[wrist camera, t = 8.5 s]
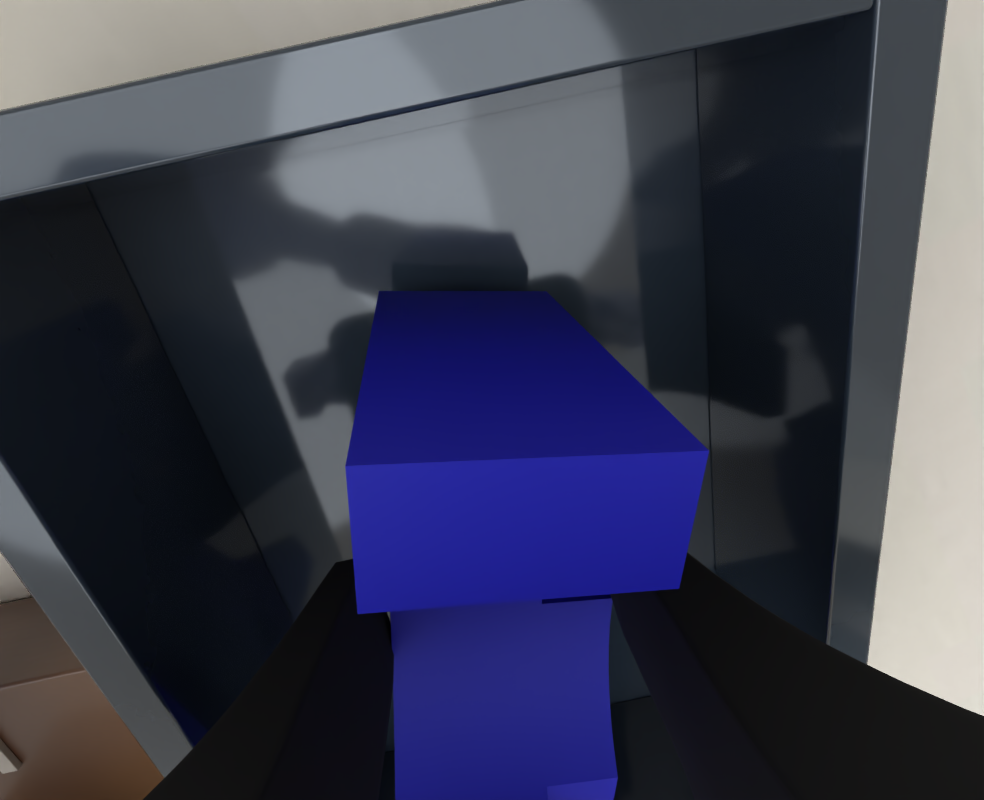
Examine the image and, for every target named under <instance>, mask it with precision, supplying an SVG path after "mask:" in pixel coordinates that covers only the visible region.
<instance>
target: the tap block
mask: <svg viewBox="0 0 984 800" xmlns="http://www.w3.org/2000/svg"><path fill="white" fill-rule="evenodd" d="M163 779H164V778H163V776H162V775H161V774H160V772H159V771H158V769H157V768H156V767H155V765H154V764H153V763H152V761H151V760H150V758H149V757H148V756H147V754H146V753H145V751H144V750H143V749H142V747H141V746H140V745H139V743H138V742H137V740H136V739H135V738H134V736H133V735H132V733H131V732H130V731H129V729H128V728H127V727H126V725H125V724H124V722H123V721H122V720H121V718H120V717H119V715H118V714H117V713H116V711H115V710H114V709H113V707H112V706H111V704H110V703H109V702H108V700H107V699H106V698H105V696H104V695H103V693H102V692H101V691H100V689H99V688H98V686H97V685H96V684H95V682H94V681H93V680H92V678H91V677H90V675H89V674H88V673H87V671H86V670H85V668H84V667H83V666H82V664H81V663H80V662H79V660H78V659H77V657H76V656H75V655H74V653H73V652H72V651H71V649H70V648H69V646H68V645H67V644H66V642H65V641H64V639H63V638H62V637H61V635H60V634H59V633H58V631H57V630H56V628H55V627H54V626H53V624H52V623H51V621H50V620H49V619H48V617H47V616H46V615H45V613H44V612H43V610H42V609H41V608H40V606H39V605H38V604H37V602H36V601H35V599H34V598H33V597H31V598H26V599H22V600H17V601H12V602H8V603H3V604H0V800H143V799H144V798H145V797H146V796H147V795H148V794H149V793H150V792H151V791H152V790H153V789H154V788H155V787H156V786H157V785H158V784H159V783H160V782H161V781H162V780H163Z"/></svg>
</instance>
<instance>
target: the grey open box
mask: <svg viewBox="0 0 984 800" xmlns="http://www.w3.org/2000/svg"><path fill="white" fill-rule="evenodd" d="M947 4H948V0H496V1H491V2H487V3H482V4H478V5H473V6H469V7H464V8H460V9H455V10H451V11H446V12H442V13H437V14H433V15H428V16H424V17H419V18H414V19H410V20H405V21H401V22H396V23H392V24H387V25H383V26H378V27H374V28H369V29H365V30H360V31H356V32H351V33H347V34H342V35H338V36H333V37H328V38H324V39H319V40H315V41H310V42H306V43H301V44H297V45H292V46H288V47H283V48H279V49H274V50H270V51H265V52H261V53H256V54H252V55H247V56H242V57H238V58H233V59H229V60H224V61H220V62H215V63H211V64H206V65H202V66H197V67H193V68H188V69H184V70H179V71H175V72H170V73H166V74H161V75H157V76H152V77H147V78H143V79H138V80H134V81H129V82H125V83H120V84H116V85H111V86H107V87H102V88H98V89H93V90H89V91H84V92H80V93H75V94H71V95H66V96H61V97H57V98H52V99H48V100H43V101H39V102H34V103H30V104H25V105H21V106H16V107H12V108H7V109H3V110H0V552H1V554H2V555H3V556H4V558H5V559H6V561H7V562H8V563H9V565H10V566H11V568H12V569H13V570H14V572H15V573H16V574H17V576H18V577H19V579H20V580H21V581H22V583H23V584H24V586H25V587H26V588H27V590H28V591H29V592H30V594H31V595H32V597H33V598H34V599H35V601H36V602H37V604H38V605H39V606H40V608H41V609H42V610H43V612H44V613H45V615H46V616H47V617H48V619H49V620H50V621H51V623H52V624H53V626H54V627H55V628H56V630H57V631H58V633H59V634H60V635H61V637H62V638H63V639H64V641H65V642H66V644H67V645H68V646H69V648H70V649H71V651H72V652H73V653H74V655H75V656H76V657H77V659H78V660H79V662H80V663H81V664H82V666H83V667H84V668H85V670H86V671H87V673H88V674H89V675H90V677H91V678H92V680H93V681H94V682H95V684H96V685H97V686H98V688H99V689H100V691H101V692H102V693H103V695H104V696H105V698H106V699H107V700H108V702H109V703H110V704H111V706H112V707H113V709H114V710H115V711H116V713H117V714H118V715H119V717H120V718H121V720H122V721H123V722H124V724H125V725H126V727H127V728H128V729H129V731H130V732H131V733H132V735H133V736H134V738H135V739H136V740H137V742H138V743H139V745H140V746H141V747H142V749H143V750H144V751H145V753H146V754H147V756H148V757H149V758H150V760H151V761H152V763H153V764H154V765H155V767H156V768H157V769H158V771H159V772H160V774H161V775H162V776H163V778H165V777H166V776H167V775H168V774H169V773H170V772H171V771H172V770H173V769H174V768H175V767H176V766H177V765H178V764H179V763H180V762H181V761H182V760H183V758H184V757H185V756H186V755H187V754H188V753H189V752H190V751H191V750H192V749H193V748H194V747H195V745H196V744H197V743H198V742H199V741H200V740H201V739H202V738H203V737H204V735H205V734H206V733H207V732H208V731H209V730H210V729H211V728H212V727H213V726H214V724H215V723H216V722H217V721H218V720H219V719H220V717H221V716H222V715H223V714H224V713H225V712H226V710H227V709H228V708H229V707H230V706H231V704H232V703H233V702H234V701H235V700H236V698H237V697H238V696H239V695H240V693H241V692H242V691H243V690H244V688H245V687H246V686H247V684H248V683H249V682H250V681H251V679H252V678H253V677H254V675H255V674H256V673H257V672H258V670H259V669H260V668H261V666H262V665H263V664H264V663H265V661H266V660H267V659H268V657H269V656H270V655H271V654H272V652H273V651H274V650H275V648H276V647H277V645H278V644H279V643H280V641H281V640H282V638H283V637H284V636H285V634H286V633H287V631H288V630H289V629H290V627H291V626H292V624H293V623H294V622H295V620H296V619H297V617H298V616H299V614H300V613H301V611H302V610H303V609H304V607H305V606H306V604H307V603H308V601H309V600H310V598H311V597H312V595H313V594H314V593H315V591H316V590H317V588H318V587H319V585H320V584H321V582H322V581H323V580H324V578H325V577H326V575H327V574H328V572H329V571H330V570H331V568H332V567H333V565H334V564H335V563H336V562H339V561H344V560H349V559H353V553H352V541H351V529H350V517H349V505H348V493H347V481H346V469H345V465H346V459H347V454H348V449H349V444H350V439H351V433H352V428H353V423H354V418H355V413H356V407H357V402H358V397H359V392H360V387H361V381H362V376H363V371H364V366H365V360H366V355H367V350H368V345H369V340H370V334H371V329H372V324H373V319H374V314H375V308H376V303H377V298H378V293H379V291H547V292H548V293H549V294H550V295H551V296H552V297H553V298H554V299H555V300H556V301H557V302H558V303H559V304H560V305H561V306H562V307H563V308H564V309H565V310H566V311H567V312H568V313H569V314H570V315H571V316H572V317H573V318H574V319H575V320H576V321H577V322H578V323H579V324H580V325H581V326H582V327H583V328H584V329H585V330H586V331H587V332H588V333H589V334H590V335H592V336H593V337H594V338H595V339H596V340H597V341H598V342H599V343H600V344H601V345H602V346H603V347H604V348H605V349H606V350H607V351H608V352H609V353H610V354H611V355H612V356H613V357H614V358H615V359H616V360H617V361H618V362H619V363H620V364H621V365H622V366H623V367H624V368H625V369H626V370H627V371H628V372H629V373H630V374H631V375H632V376H633V377H634V378H635V379H636V380H637V381H638V382H640V383H641V384H642V385H643V386H644V387H645V388H646V389H647V390H648V391H649V392H650V393H651V394H652V395H653V396H654V397H655V398H656V399H657V400H658V401H659V402H660V403H661V404H662V405H663V406H664V407H665V408H666V409H667V410H668V411H669V412H670V413H671V414H672V415H673V416H674V417H675V418H676V419H677V420H678V421H679V422H680V423H681V424H682V425H683V426H684V427H685V428H686V429H688V430H689V431H690V432H691V433H692V434H693V435H694V436H695V437H696V438H697V439H698V440H699V441H700V442H701V443H702V444H703V445H704V446H705V447H706V448H707V449H708V450H709V454H708V458H707V463H706V467H705V472H704V477H703V481H702V486H701V490H700V495H699V500H698V504H697V509H696V513H695V518H694V523H693V527H692V532H691V536H690V541H689V546H688V550H687V552H688V553H689V554H690V555H692V556H693V557H694V558H696V559H697V560H698V561H699V562H701V563H702V564H703V565H704V566H706V567H707V568H708V569H710V570H711V571H712V572H714V573H715V574H716V575H718V576H719V577H720V578H722V579H723V580H725V581H726V582H727V583H729V584H730V585H732V586H733V587H735V588H736V589H737V590H739V591H740V592H742V593H743V594H744V595H746V596H747V597H749V598H750V599H752V600H753V601H755V602H756V603H758V604H759V605H761V606H763V607H764V608H766V609H767V610H769V611H770V612H772V613H774V614H775V615H777V616H778V617H780V618H782V619H783V620H785V621H787V622H788V623H790V624H792V625H793V626H795V627H797V628H798V629H800V630H802V631H804V632H805V633H807V634H809V635H811V636H812V637H814V638H816V639H818V640H820V641H821V642H823V643H825V644H827V645H829V646H831V647H833V648H835V649H837V650H839V651H841V652H843V653H845V654H847V655H849V656H851V657H853V658H855V659H857V660H859V661H861V662H863V663H865V664H867V661H868V653H869V645H870V636H871V628H872V620H873V612H874V604H875V595H876V587H877V579H878V571H879V563H880V554H881V546H882V538H883V530H884V521H885V513H886V505H887V497H888V489H889V480H890V472H891V464H892V456H893V448H894V439H895V431H896V423H897V415H898V407H899V398H900V390H901V382H902V374H903V365H904V357H905V349H906V341H907V333H908V324H909V316H910V308H911V300H912V292H913V283H914V275H915V267H916V259H917V251H918V242H919V234H920V226H921V218H922V209H923V201H924V193H925V185H926V177H927V168H928V160H929V152H930V144H931V136H932V127H933V119H934V111H935V103H936V95H937V86H938V78H939V70H940V62H941V53H942V45H943V37H944V29H945V21H946V12H947ZM387 614H388V617H389V619H390V612H387ZM390 622H391V619H390ZM609 696H610V711H611V724H612V734H613V744H614V752H615V760H616V768H617V775H618V779H617V785H616V790H615V795H614V800H695V799H694V796H693V794H692V791H691V788H690V785H689V782H688V780H687V777H686V774H685V771H684V769H683V766H682V764H681V762H680V759H679V757H678V754H677V752H676V749H675V747H674V745H673V742H672V740H671V738H670V736H669V734H668V731H667V729H666V727H665V725H664V723H663V721H662V718H661V716H660V714H659V712H658V710H657V707H656V705H655V703H654V701H653V699H652V696H651V694H650V692H649V690H648V688H647V685H646V683H645V681H644V679H643V677H642V674H641V672H640V670H639V668H638V666H637V663H636V661H635V659H634V657H633V654H632V652H631V650H630V648H629V646H628V643H627V641H626V639H625V637H624V634H623V632H622V629H621V626H620V623H619V620H618V617H617V614H616V611H615V608H614V605H613V602H612V609H611V619H610V632H609ZM379 800H395V743H394V699H393V691H392V700H391V708H390V716H389V724H388V732H387V740H386V747H385V755H384V763H383V770H382V778H381V786H380V793H379Z"/></svg>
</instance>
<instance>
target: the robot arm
mask: <svg viewBox="0 0 984 800" xmlns="http://www.w3.org/2000/svg"><path fill="white" fill-rule="evenodd" d="M610 595H611V598H612V601H613V605H614V608H615V611H616V614H617V617H618V620H619V623H620V626H621V629H622V632H623V634H624V637H625V639H626V641H627V643H628V646H629V648H630V650H631V652H632V654H633V657H634V659H635V661H636V663H637V666H638V668H639V670H640V672H641V674H642V677H643V679H644V681H645V683H646V685H647V688H648V690H649V692H650V694H651V696H652V699H653V701H654V703H655V705H656V707H657V710H658V712H659V714H660V716H661V718H662V721H663V723H664V725H665V727H666V729H667V731H668V734H669V736H670V738H671V740H672V742H673V745H674V747H675V749H676V752H677V754H678V757H679V759H680V762H681V764H682V766H683V769H684V771H685V774H686V777H687V780H688V782H689V785H690V788H691V791H692V794H693V796H694V799H695V800H984V716H982V715H979V714H977V713H974V712H971V711H969V710H966V709H964V708H962V707H959V706H957V705H954V704H952V703H950V702H948V701H945V700H943V699H941V698H938V697H936V696H934V695H932V694H929V693H927V692H925V691H922V690H920V689H918V688H915V687H913V686H911V685H909V684H906V683H904V682H902V681H900V680H898V679H896V678H893V677H891V676H889V675H887V674H885V673H883V672H881V671H879V670H877V669H875V668H873V667H871V666H869V665H867V664H865V663H863V662H861V661H859V660H857V659H855V658H853V657H851V656H849V655H847V654H845V653H843V652H841V651H839V650H837V649H835V648H833V647H831V646H829V645H827V644H825V643H823V642H821V641H820V640H818V639H816V638H814V637H812V636H811V635H809V634H807V633H805V632H804V631H802V630H800V629H798V628H797V627H795V626H793V625H792V624H790V623H788V622H787V621H785V620H783V619H782V618H780V617H778V616H777V615H775V614H774V613H772V612H770V611H769V610H767V609H766V608H764V607H763V606H761V605H759V604H758V603H756V602H755V601H753V600H752V599H750V598H749V597H747V596H746V595H744V594H743V593H742V592H740V591H739V590H737V589H736V588H735V587H733V586H732V585H730V584H729V583H727V582H726V581H725V580H723V579H722V578H720V577H719V576H718V575H716V574H715V573H714V572H712V571H711V570H710V569H708V568H707V567H706V566H704V565H703V564H702V563H701V562H699V561H698V560H697V559H696V558H694V557H693V556H692V555H690V554H689V553H688V552H687V555H686V559H685V564H684V569H683V573H682V578H681V582H680V587H679V589H668V590H655V591H643V592H630V593H618V594H610ZM393 683H394V654H393V650H392V640H391V622H390V619H389V617H388V614H387V612H378V613H366V614H358V613H357V601H356V589H355V577H354V565H353V559H349V560H344V561H339V562H336V563H335V564H334V565H333V567H332V568H331V570H330V571H329V572H328V574H327V575H326V577H325V578H324V580H323V581H322V582H321V584H320V585H319V587H318V588H317V590H316V591H315V593H314V594H313V595H312V597H311V598H310V600H309V601H308V603H307V604H306V606H305V607H304V609H303V610H302V611H301V613H300V614H299V616H298V617H297V619H296V620H295V622H294V623H293V624H292V626H291V627H290V629H289V630H288V631H287V633H286V634H285V636H284V637H283V638H282V640H281V641H280V643H279V644H278V645H277V647H276V648H275V650H274V651H273V652H272V654H271V655H270V656H269V657H268V659H267V660H266V661H265V663H264V664H263V665H262V666H261V668H260V669H259V670H258V672H257V673H256V674H255V675H254V677H253V678H252V679H251V681H250V682H249V683H248V684H247V686H246V687H245V688H244V690H243V691H242V692H241V693H240V695H239V696H238V697H237V698H236V700H235V701H234V702H233V703H232V704H231V706H230V707H229V708H228V709H227V710H226V712H225V713H224V714H223V715H222V716H221V717H220V719H219V720H218V721H217V722H216V723H215V724H214V726H213V727H212V728H211V729H210V730H209V731H208V732H207V733H206V734H205V735H204V737H203V738H202V739H201V740H200V741H199V742H198V743H197V744H196V745H195V747H194V748H193V749H192V750H191V751H190V752H189V753H188V754H187V755H186V756H185V757H184V758H183V760H182V761H181V762H180V763H179V764H178V765H177V766H176V767H175V768H174V769H173V770H172V771H171V772H170V773H169V774H168V775H167V776H166V777H165V778H164V779H163V780H162V781H161V782H160V783H159V784H158V785H157V786H156V787H155V788H154V789H153V790H152V791H151V792H150V793H149V794H148V795H147V796H146V797H145V798H144V799H143V800H379V793H380V786H381V778H382V770H383V763H384V755H385V747H386V740H387V732H388V724H389V716H390V708H391V700H392V691H393Z"/></svg>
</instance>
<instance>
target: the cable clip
mask: <svg viewBox="0 0 984 800" xmlns="http://www.w3.org/2000/svg"><path fill="white" fill-rule="evenodd" d="M708 454H709V450H708V449H707V448H706V447H705V446H704V445H703V444H702V443H701V442H700V441H699V440H698V439H697V438H696V437H695V436H694V435H693V434H692V433H691V432H690V431H689V430H688V429H686V428H685V427H684V426H683V425H682V424H681V423H680V422H679V421H678V420H677V419H676V418H675V417H674V416H673V415H672V414H671V413H670V412H669V411H668V410H667V409H666V408H665V407H664V406H663V405H662V404H661V403H660V402H659V401H658V400H657V399H656V398H655V397H654V396H653V395H652V394H651V393H650V392H649V391H648V390H647V389H646V388H645V387H644V386H643V385H642V384H641V383H640V382H638V381H637V380H636V379H635V378H634V377H633V376H632V375H631V374H630V373H629V372H628V371H627V370H626V369H625V368H624V367H623V366H622V365H621V364H620V363H619V362H618V361H617V360H616V359H615V358H614V357H613V356H612V355H611V354H610V353H609V352H608V351H607V350H606V349H605V348H604V347H603V346H602V345H601V344H600V343H599V342H598V341H597V340H596V339H595V338H594V337H593V336H592V335H590V334H589V333H588V332H587V331H586V330H585V329H584V328H583V327H582V326H581V325H580V324H579V323H578V322H577V321H576V320H575V319H574V318H573V317H572V316H571V315H570V314H569V313H568V312H567V311H566V310H565V309H564V308H563V307H562V306H561V305H560V304H559V303H558V302H557V301H556V300H555V299H554V298H553V297H552V296H551V295H550V294H549V293H548V292H547V291H379V293H378V298H377V303H376V308H375V314H374V319H373V324H372V329H371V334H370V340H369V345H368V350H367V355H366V360H365V366H364V371H363V376H362V381H361V387H360V392H359V397H358V402H357V407H356V413H355V418H354V423H353V428H352V433H351V439H350V444H349V449H348V454H347V459H346V465H345V469H346V481H347V493H348V505H349V517H350V529H351V541H352V553H353V565H354V577H355V589H356V601H357V613H358V614H366V613H378V612H390V619H391V640H392V650H393V654H394V683H393V699H394V743H395V800H614V795H615V790H616V785H617V779H618V775H617V768H616V760H615V752H614V744H613V734H612V724H611V711H610V696H609V632H610V619H611V609H612V602H613V601H612V598H611V595H610V594H618V593H630V592H643V591H655V590H668V589H679V587H680V582H681V578H682V573H683V569H684V564H685V559H686V555H687V550H688V546H689V541H690V536H691V532H692V527H693V523H694V518H695V513H696V509H697V504H698V500H699V495H700V490H701V486H702V481H703V477H704V472H705V467H706V463H707V458H708Z"/></svg>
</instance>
